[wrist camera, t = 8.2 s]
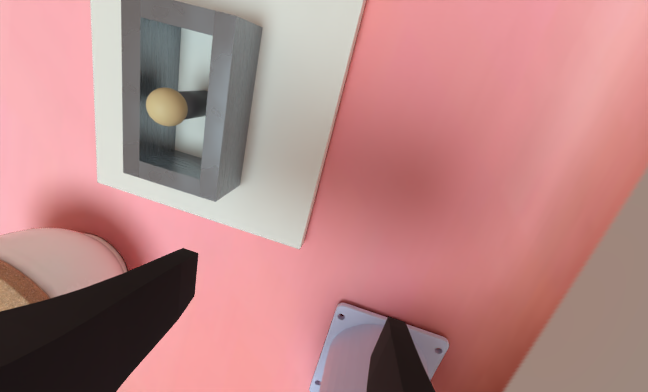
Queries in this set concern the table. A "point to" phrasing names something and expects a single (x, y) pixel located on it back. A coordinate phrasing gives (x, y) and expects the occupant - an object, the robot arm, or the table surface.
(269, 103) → the keeper board
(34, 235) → the lidded jar
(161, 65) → the grey rectangular frame
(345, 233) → the table surface
